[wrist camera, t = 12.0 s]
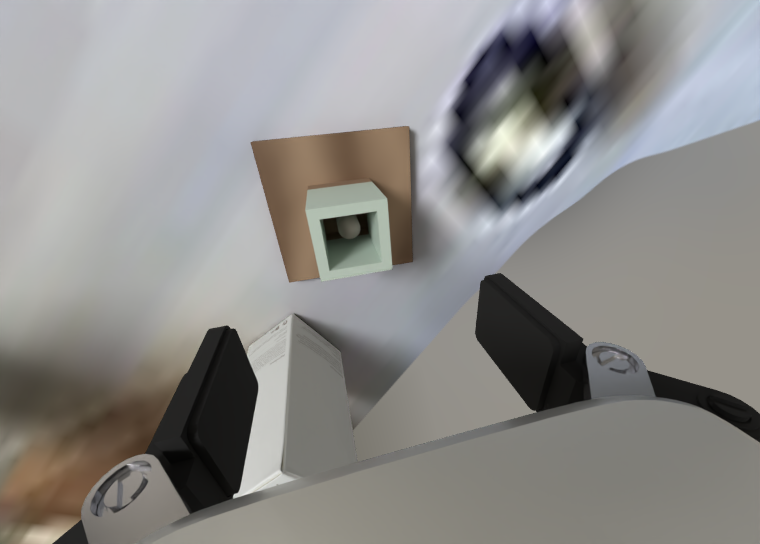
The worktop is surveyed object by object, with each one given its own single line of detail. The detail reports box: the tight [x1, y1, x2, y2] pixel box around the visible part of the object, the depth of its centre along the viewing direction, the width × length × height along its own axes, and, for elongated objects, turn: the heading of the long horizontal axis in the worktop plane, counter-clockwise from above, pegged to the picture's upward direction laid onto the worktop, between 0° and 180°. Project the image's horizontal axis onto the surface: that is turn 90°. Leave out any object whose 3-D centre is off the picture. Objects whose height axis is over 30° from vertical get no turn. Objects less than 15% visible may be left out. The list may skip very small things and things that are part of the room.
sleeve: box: [305, 178, 392, 282], centre depth 21 cm, size 5×5×7 cm
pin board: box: [251, 126, 413, 282], centre depth 23 cm, size 12×12×6 cm
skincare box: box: [233, 314, 357, 498], centre depth 25 cm, size 8×7×16 cm
